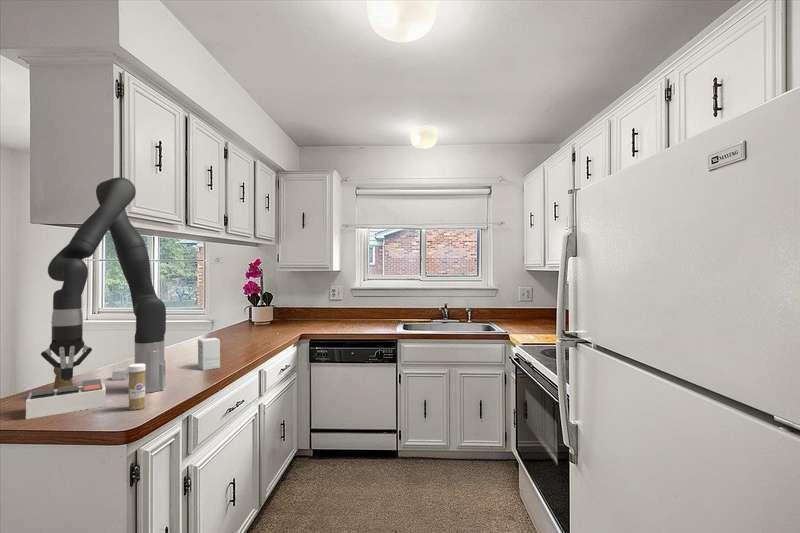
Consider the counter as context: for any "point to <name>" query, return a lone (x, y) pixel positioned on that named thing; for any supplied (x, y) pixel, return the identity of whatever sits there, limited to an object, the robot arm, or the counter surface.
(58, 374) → the cork
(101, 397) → the white switch panel
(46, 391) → the switch
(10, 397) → the counter surface
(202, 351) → the supplement box
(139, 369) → the sprinkles bottle
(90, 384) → the switch
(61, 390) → the switch middle
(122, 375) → the usb wall charger
